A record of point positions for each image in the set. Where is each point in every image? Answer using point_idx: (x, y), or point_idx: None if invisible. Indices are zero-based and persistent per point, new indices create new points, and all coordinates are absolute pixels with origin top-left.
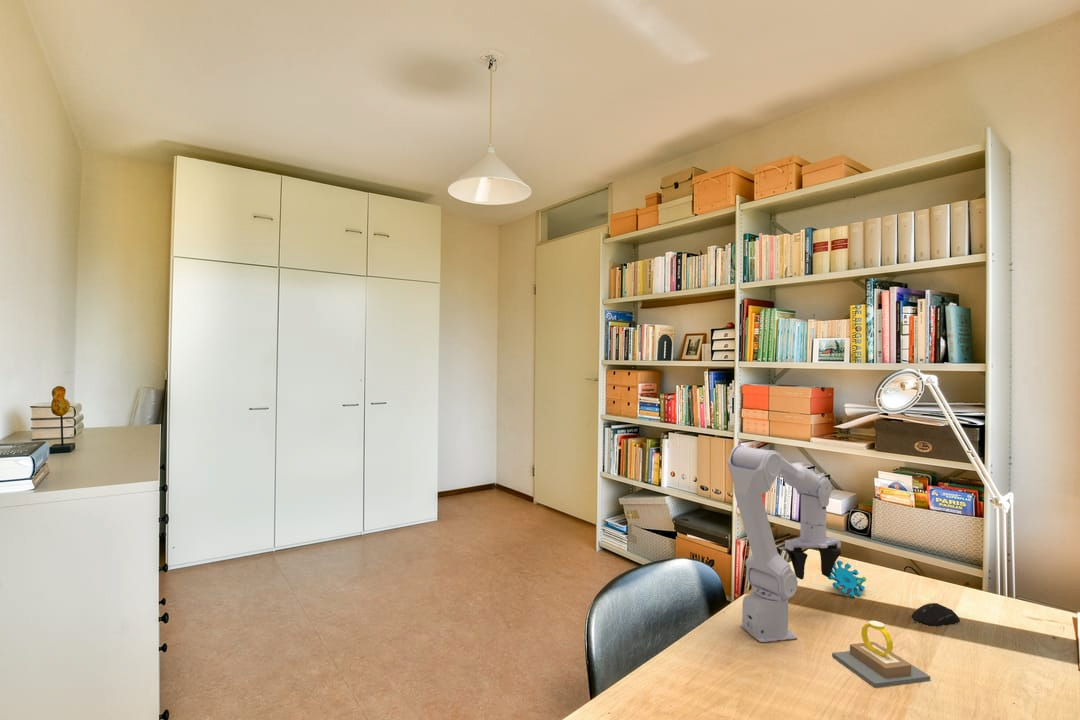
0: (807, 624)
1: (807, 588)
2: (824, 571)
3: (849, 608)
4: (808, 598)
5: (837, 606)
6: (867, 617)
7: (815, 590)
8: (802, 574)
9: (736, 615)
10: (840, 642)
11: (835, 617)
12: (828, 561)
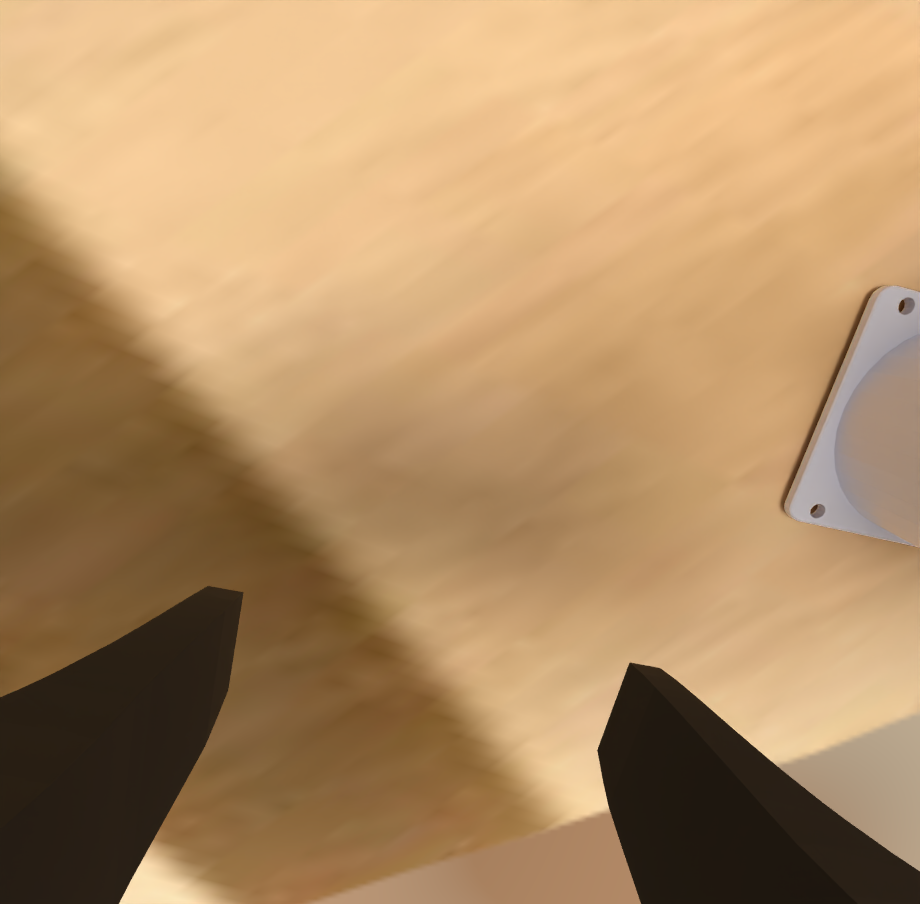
0: (598, 408)
1: None
2: (211, 689)
3: (55, 457)
4: None
5: (123, 514)
6: (41, 295)
7: None
8: (693, 703)
9: (893, 664)
10: (635, 110)
11: (301, 400)
12: (105, 786)
